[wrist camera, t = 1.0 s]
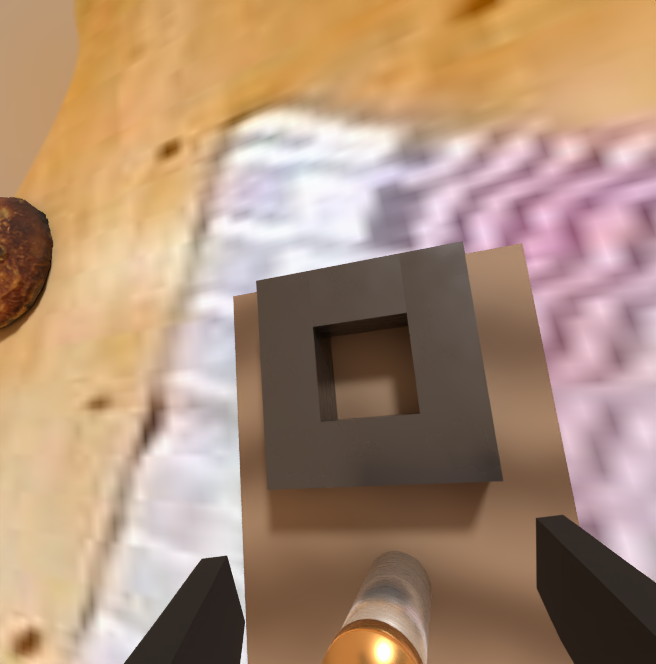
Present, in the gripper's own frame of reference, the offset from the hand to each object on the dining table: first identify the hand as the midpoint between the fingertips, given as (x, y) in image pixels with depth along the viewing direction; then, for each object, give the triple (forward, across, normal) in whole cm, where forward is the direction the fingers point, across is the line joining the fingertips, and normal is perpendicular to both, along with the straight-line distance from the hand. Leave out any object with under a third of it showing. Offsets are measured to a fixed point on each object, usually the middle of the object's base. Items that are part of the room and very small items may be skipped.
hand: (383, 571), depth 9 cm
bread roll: (+25, +26, -8) cm, 37 cm away
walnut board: (+10, -1, +4) cm, 11 cm away
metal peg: (+7, -1, +9) cm, 11 cm away
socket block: (+13, -1, 0) cm, 13 cm away
